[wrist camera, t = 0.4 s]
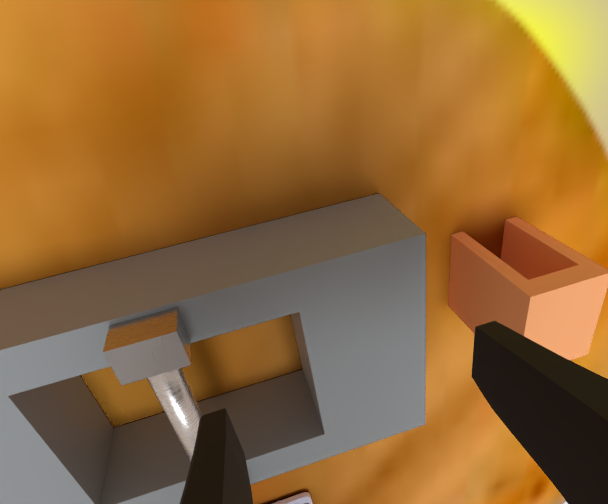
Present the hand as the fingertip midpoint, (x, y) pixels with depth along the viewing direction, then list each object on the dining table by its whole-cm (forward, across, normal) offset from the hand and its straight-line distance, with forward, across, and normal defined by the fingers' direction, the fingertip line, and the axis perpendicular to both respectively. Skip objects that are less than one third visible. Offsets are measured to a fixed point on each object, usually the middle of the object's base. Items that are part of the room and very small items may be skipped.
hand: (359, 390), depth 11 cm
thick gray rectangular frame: (+10, +6, +5) cm, 13 cm away
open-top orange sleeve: (+10, -11, +5) cm, 15 cm away
